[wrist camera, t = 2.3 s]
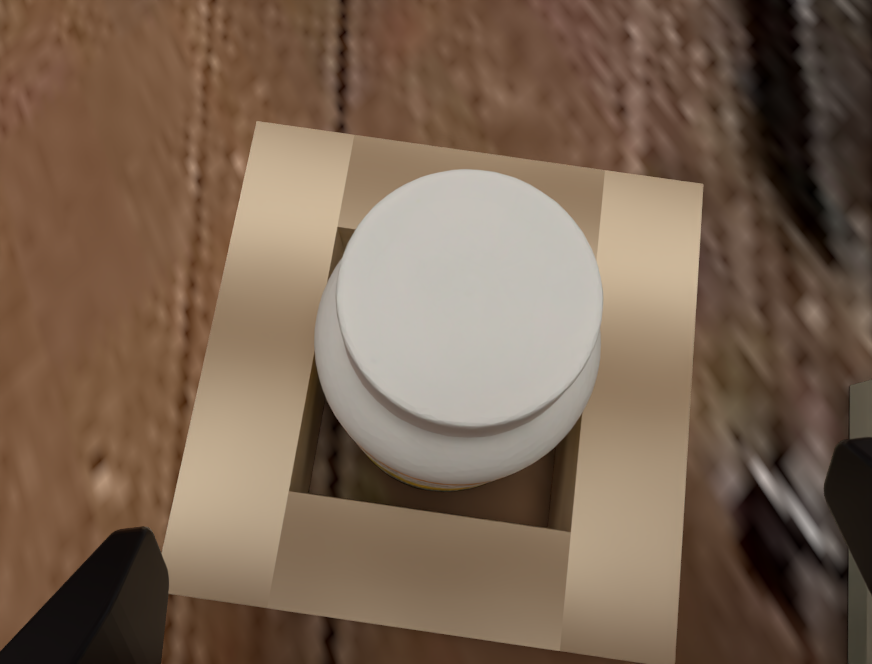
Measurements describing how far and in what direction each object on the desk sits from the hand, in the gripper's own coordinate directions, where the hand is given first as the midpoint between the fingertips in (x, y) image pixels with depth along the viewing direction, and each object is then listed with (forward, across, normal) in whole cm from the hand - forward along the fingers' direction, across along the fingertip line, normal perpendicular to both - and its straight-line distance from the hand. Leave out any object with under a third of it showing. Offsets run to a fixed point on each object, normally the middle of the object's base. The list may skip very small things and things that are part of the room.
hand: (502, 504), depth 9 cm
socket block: (+9, 0, +5) cm, 10 cm away
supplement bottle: (+9, 0, +5) cm, 11 cm away
